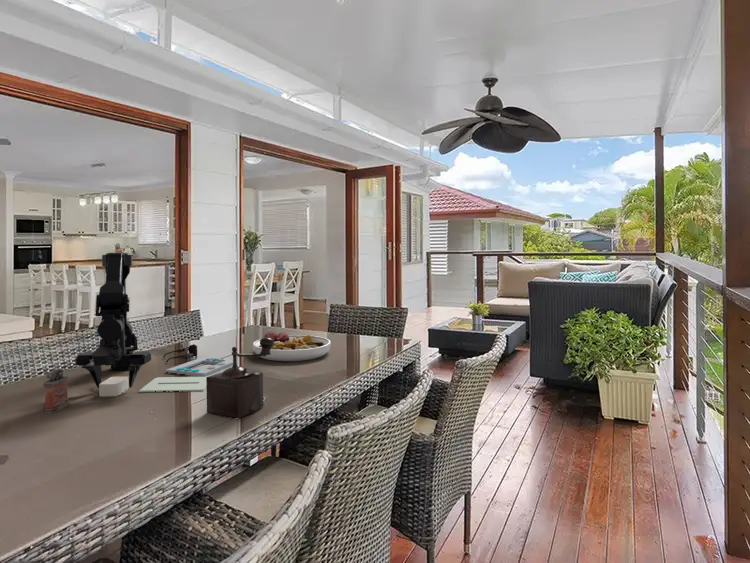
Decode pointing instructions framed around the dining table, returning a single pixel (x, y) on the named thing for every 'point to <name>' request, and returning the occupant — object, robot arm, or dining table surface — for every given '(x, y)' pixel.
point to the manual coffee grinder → (237, 387)
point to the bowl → (294, 347)
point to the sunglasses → (191, 349)
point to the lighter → (55, 391)
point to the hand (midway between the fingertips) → (115, 387)
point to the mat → (175, 384)
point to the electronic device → (208, 371)
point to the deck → (114, 386)
